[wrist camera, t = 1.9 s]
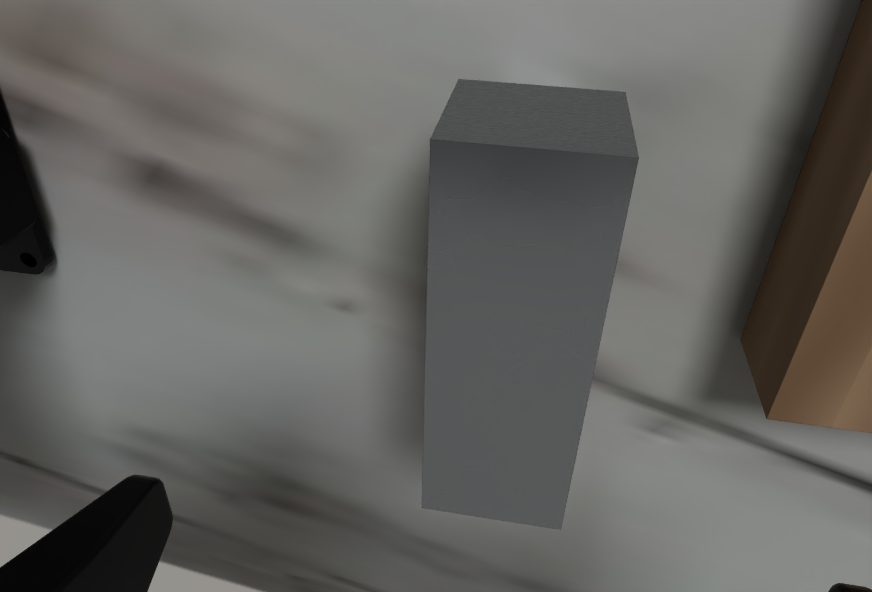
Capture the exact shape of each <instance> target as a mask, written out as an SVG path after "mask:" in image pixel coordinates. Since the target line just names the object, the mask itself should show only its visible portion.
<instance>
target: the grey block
mask: <svg viewBox="0 0 872 592" xmlns="http://www.w3.org/2000/svg"><path fill="white" fill-rule="evenodd" d="M638 159H639V156H638V151H637V146H636V141H635V136H634V131H633V126H632V122H631V117H630V112H629V107H628V102H627V97H626V92H618V91H605V90H593V89H580V88H567V87H554V86H541V85H528V84H516V83H503V82H490V81H477V80H464V79H458V81H457V84H456V86H455V88H454V90H453V92H452V94H451V96H450V98H449V100H448V103H447V105H446V107H445V109H444V111H443V113H442V115H441V117H440V120H439V122H438V124H437V126H436V128H435V130H434V132H433V134H432V136H431V139H430V176H429V219H428V261H427V303H426V345H425V388H424V430H423V472H422V508H425V509H432V510H438V511H444V512H451V513H457V514H464V515H470V516H476V517H483V518H489V519H496V520H502V521H508V522H515V523H521V524H527V525H534V526H540V527H547V528H553V529H559V530H561V526H562V521H563V517H564V512H565V507H566V502H567V497H568V493H569V488H570V483H571V478H572V474H573V469H574V464H575V459H576V455H577V450H578V445H579V440H580V436H581V431H582V426H583V421H584V416H585V412H586V407H587V402H588V397H589V393H590V388H591V383H592V378H593V374H594V369H595V364H596V359H597V354H598V350H599V345H600V340H601V335H602V331H603V326H604V321H605V316H606V312H607V307H608V302H609V297H610V292H611V288H612V283H613V278H614V273H615V269H616V264H617V259H618V254H619V250H620V245H621V240H622V235H623V230H624V226H625V221H626V216H627V211H628V207H629V202H630V197H631V192H632V188H633V183H634V178H635V173H636V168H637V164H638Z"/></svg>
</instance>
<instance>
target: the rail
mask: <svg viewBox="0 0 872 592" xmlns="http://www.w3.org/2000/svg"><path fill="white" fill-rule="evenodd" d="M741 343H742V346H743V349H744V352H745V355H746V358H747V361H748V364H749V367H750V370H751V373H752V376H753V379H754V382H755V385H756V388H757V391H758V394H759V397H760V400H761V403H762V406H763V409H764V412H765V415H766V418H767V419H770V420H778V421H785V422H793V423H801V424H808V425H816V426H823V427H831V428H838V429H846V430H853V431H861V432H869V433H872V0H862V2H861V5H860V8H859V11H858V14H857V16H856V19H855V22H854V25H853V28H852V30H851V33H850V36H849V39H848V42H847V44H846V47H845V50H844V53H843V55H842V58H841V61H840V64H839V67H838V69H837V72H836V75H835V78H834V81H833V83H832V86H831V89H830V92H829V94H828V97H827V100H826V103H825V106H824V108H823V111H822V114H821V117H820V120H819V122H818V125H817V128H816V131H815V134H814V136H813V139H812V142H811V145H810V147H809V150H808V153H807V156H806V159H805V161H804V164H803V167H802V170H801V173H800V175H799V178H798V181H797V184H796V187H795V189H794V192H793V195H792V198H791V200H790V203H789V206H788V209H787V212H786V214H785V217H784V220H783V223H782V226H781V228H780V231H779V234H778V237H777V240H776V242H775V245H774V248H773V251H772V253H771V256H770V259H769V262H768V265H767V267H766V270H765V273H764V276H763V279H762V281H761V284H760V287H759V290H758V293H757V295H756V298H755V301H754V304H753V306H752V309H751V312H750V315H749V318H748V320H747V323H746V326H745V329H744V332H743V334H742V337H741Z"/></svg>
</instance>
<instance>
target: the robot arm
mask: <svg viewBox="0 0 872 592" xmlns="http://www.w3.org/2000/svg"><path fill="white" fill-rule="evenodd" d="M31 255H32V256H34V257H32V256H31ZM52 262H53V254H52V251H51V248H50V245H49V243H48V240H47V237H46V234H45V231H44V228H43V225H42V222H41V219H40V216H39V213H38V210H37V207H36V205H35V202H34V199H33V196H32V193H31V190H30V187H29V184H28V181H27V178H26V175H25V172H24V169H23V167H22V164H21V161H20V158H19V155H18V152H17V149H16V146H15V143H14V140H13V137H12V134H11V131H10V129H9V126H8V123H7V120H6V117H5V114H4V111H3V108H2V105H1V102H0V270H3V271H11V272H19V273H28V274H40V273H41V272H43V271H44V270H46V269H47V268H48V267H49V266H50V265H52ZM172 521H173V516H172V511H171V507H170V504H169V501H168V498H167V494H166V491H165V488H164V484H163V482H162V481H161V480H160V479H159V478H155V477H149V476H142V475H132V476H129V477H127V478H126V479H124V480H123V481H121V482H120V483H118V484H117V485H116V486H114V487H113V488H111V489H110V490H109V491H107V492H106V493H104V494H103V495H101V496H100V497H99V498H97V499H96V500H94V501H93V502H92V503H90V504H89V505H87V506H86V507H85V508H83V509H82V510H80V511H79V512H78V513H76V514H75V515H73V516H72V517H71V518H69V519H68V520H66V521H65V522H64V523H62V524H61V525H59V526H58V527H57V528H55V529H54V530H52V531H51V532H50V533H48V534H47V535H45V536H44V537H43V538H41V539H40V540H38V541H37V542H36V543H34V544H33V545H31V546H30V547H28V548H27V549H26V550H24V551H23V552H22V553H20V554H19V555H17V556H16V557H15V558H13V559H12V560H10V561H9V562H7V563H6V564H5V565H3V566H2V567H0V592H147V591H148V589H149V586H150V583H151V580H152V578H153V575H154V573H155V570H156V568H157V565H158V563H159V560H160V557H161V555H162V552H163V550H164V547H165V544H166V542H167V539H168V537H169V534H170V531H171V527H172ZM829 592H872V590H871V589H869V588H866V587H862V586H856V585H849V584H843V583H837V584H835V585H833V586H832V587H831V588H830V590H829Z"/></svg>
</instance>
